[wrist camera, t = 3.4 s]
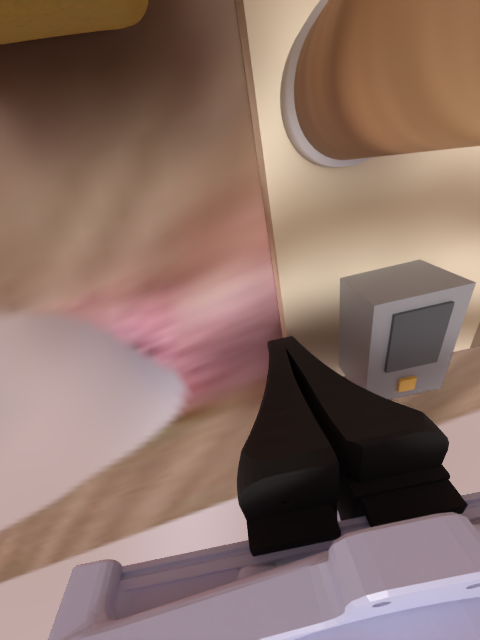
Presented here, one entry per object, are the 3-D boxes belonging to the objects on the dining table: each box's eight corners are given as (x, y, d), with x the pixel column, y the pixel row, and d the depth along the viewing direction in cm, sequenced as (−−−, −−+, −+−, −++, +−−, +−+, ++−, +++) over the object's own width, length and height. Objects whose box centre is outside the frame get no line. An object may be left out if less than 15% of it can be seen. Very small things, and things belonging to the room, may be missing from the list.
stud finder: (402, 351, 15) (443, 390, 12) (338, 365, 15) (366, 407, 13) (419, 259, 12) (479, 283, 9) (340, 278, 12) (376, 307, 9)
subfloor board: (573, 307, 17) (604, 318, 15) (287, 371, 17) (293, 387, 16) (883, -211, 7) (1028, -294, 6) (229, -37, 8) (233, -79, 6)
